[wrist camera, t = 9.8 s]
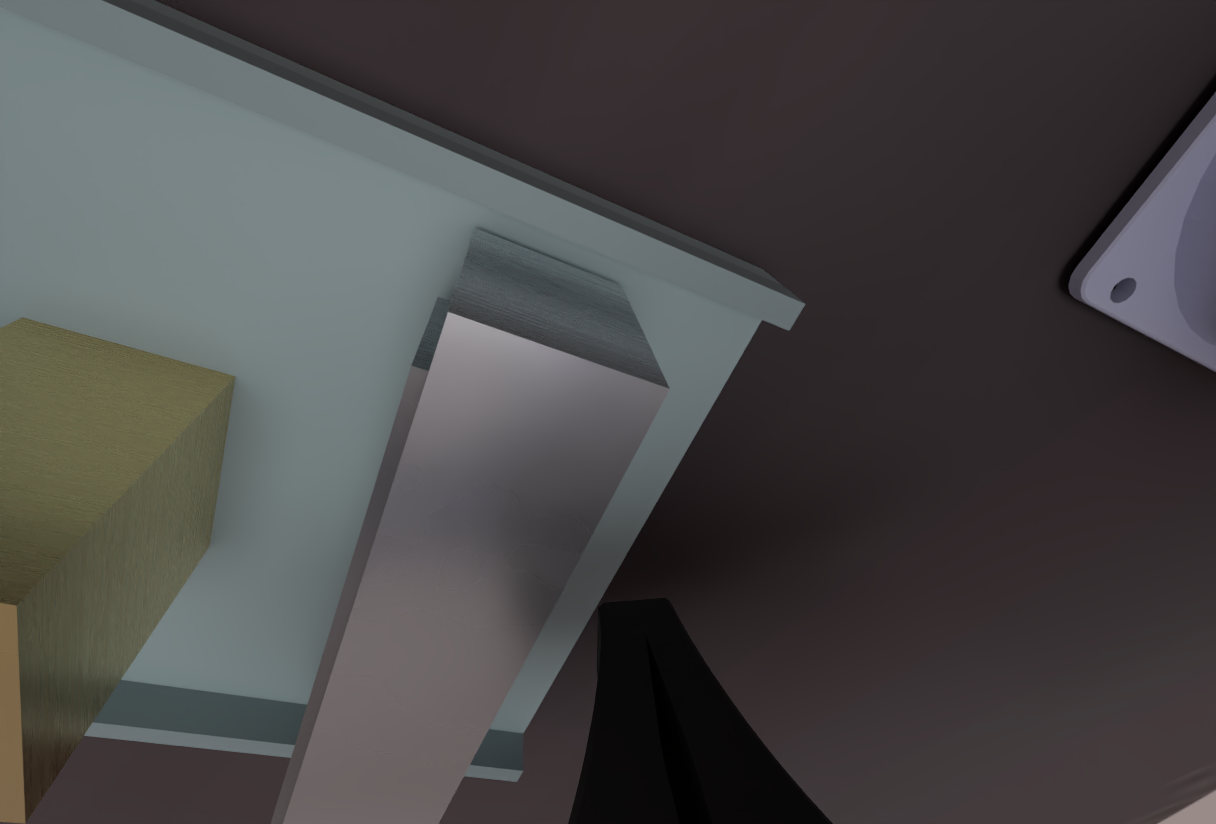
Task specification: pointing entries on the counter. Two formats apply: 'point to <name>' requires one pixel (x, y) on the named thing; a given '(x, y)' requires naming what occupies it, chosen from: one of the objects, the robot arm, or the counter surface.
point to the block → (91, 528)
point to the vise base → (305, 324)
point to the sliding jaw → (470, 530)
